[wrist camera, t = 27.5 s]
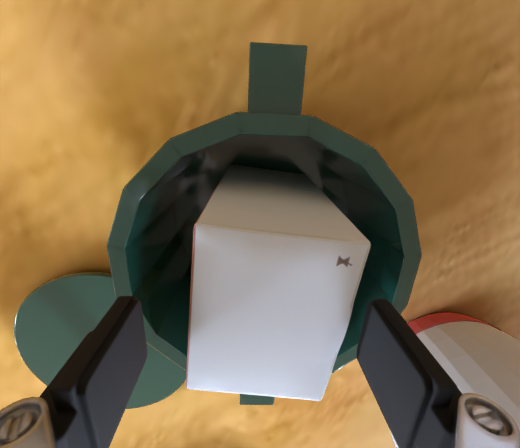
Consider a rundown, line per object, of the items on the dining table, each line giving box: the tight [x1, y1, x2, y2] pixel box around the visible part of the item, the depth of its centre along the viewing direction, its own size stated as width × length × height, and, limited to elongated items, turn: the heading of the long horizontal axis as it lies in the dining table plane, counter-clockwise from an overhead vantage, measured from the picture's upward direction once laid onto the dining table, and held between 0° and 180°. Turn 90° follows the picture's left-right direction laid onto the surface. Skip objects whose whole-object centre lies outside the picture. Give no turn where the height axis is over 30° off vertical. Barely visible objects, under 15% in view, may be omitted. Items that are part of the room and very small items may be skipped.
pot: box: [107, 42, 421, 405], centre depth 19 cm, size 16×22×10 cm
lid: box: [14, 272, 187, 409], centre depth 25 cm, size 17×17×6 cm
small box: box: [186, 164, 371, 401], centre depth 16 cm, size 8×6×13 cm
